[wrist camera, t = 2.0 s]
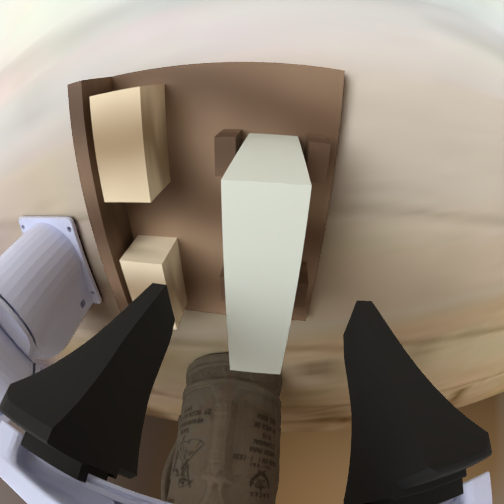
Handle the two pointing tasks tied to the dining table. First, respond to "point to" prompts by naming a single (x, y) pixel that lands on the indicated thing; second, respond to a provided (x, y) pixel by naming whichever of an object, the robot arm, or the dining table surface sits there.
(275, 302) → the panel
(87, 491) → the robot arm
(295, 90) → the rack
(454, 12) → the dining table surface
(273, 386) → the beer stein
